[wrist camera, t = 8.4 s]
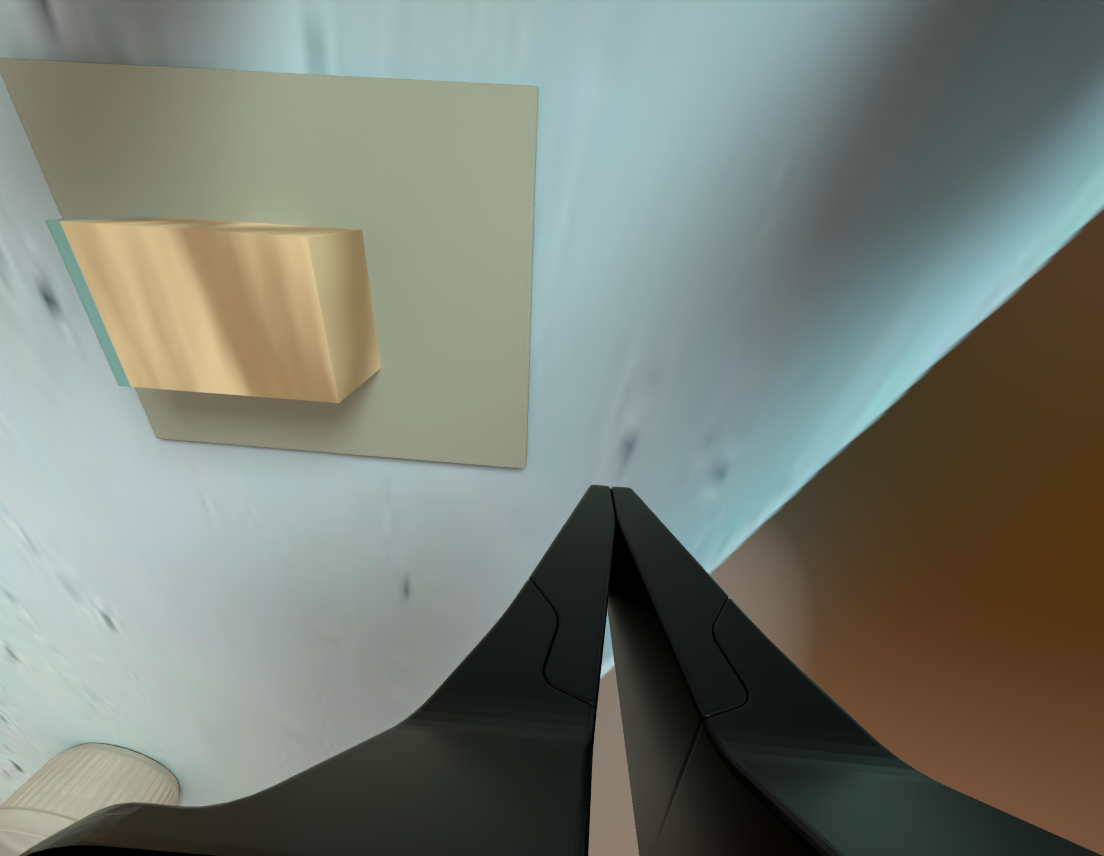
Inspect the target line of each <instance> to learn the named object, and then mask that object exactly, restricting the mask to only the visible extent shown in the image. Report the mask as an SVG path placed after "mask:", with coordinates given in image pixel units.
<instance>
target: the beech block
mask: <svg viewBox="0 0 1104 856" xmlns="http://www.w3.org/2000/svg"><path fill="white" fill-rule="evenodd" d="M45 221H46V223H47V225H48V227H49V230H50V232H51V234H52V236H53V239H54V241H55V243H56V245H57V248H58V250H59V252H60V254H61V257H62V259H63V261H64V263H65V266H66V268H67V270H68V272H69V275H70V277H71V279H72V281H73V284H74V286H75V288H76V290H77V293H78V295H79V297H80V299H81V302H82V304H83V306H84V308H85V311H86V313H87V315H88V317H89V320H90V322H91V324H92V326H93V329H94V331H95V333H96V335H97V338H98V340H99V342H100V344H101V347H102V349H103V351H104V353H105V356H106V358H107V360H108V362H109V365H110V367H111V369H112V371H113V374H114V376H115V378H116V380H117V383H118V385H119V386H128V387H141V388H153V389H166V390H179V391H191V392H204V393H217V394H229V395H242V396H255V397H268V398H280V399H293V400H306V401H318V402H331V403H340V402H341V401H342V400H343V399H345V398H346V397H347V396H348V395H349V394H351V393H352V392H353V391H354V390H355V389H357V388H358V387H359V386H360V385H361V384H363V383H364V382H365V381H366V380H367V379H369V378H370V377H371V376H372V375H373V374H375V373H376V372H377V371H378V370H379V369H381V364H380V357H379V350H378V342H377V335H376V328H375V321H374V313H373V306H372V299H371V292H370V284H369V277H368V270H367V262H366V255H365V248H364V241H363V233H362V230H360V229H344V228H329V227H313V226H298V225H282V224H267V223H251V222H236V221H220V220H205V219H189V218H174V217H158V216H138V217H113V218H88V219H64V220H45Z"/></svg>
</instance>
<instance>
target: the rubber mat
mask: <svg viewBox="0 0 1104 856" xmlns="http://www.w3.org/2000/svg"><path fill="white" fill-rule="evenodd" d="M0 73H1V75H2V78H3V80H4V82H5V85H6V87H7V89H8V92H9V94H10V97H11V99H12V101H13V104H14V106H15V108H16V111H17V113H18V115H19V118H20V120H21V122H22V125H23V127H24V129H25V132H26V134H27V136H28V139H29V141H30V143H31V146H32V148H33V150H34V153H35V155H36V157H37V160H38V162H39V164H40V167H41V169H42V171H43V174H44V176H45V179H46V181H47V183H48V186H49V188H50V190H51V193H52V195H53V197H54V200H55V202H56V204H57V207H58V209H59V211H60V214H61V216H62V218H63V220H64V219H88V218H113V217H138V216H158V217H174V218H189V219H205V220H220V221H236V222H251V223H267V224H282V225H298V226H313V227H329V228H344V229H360V230H362V233H363V241H364V248H365V255H366V262H367V270H368V277H369V284H370V292H371V299H372V306H373V313H374V321H375V328H376V335H377V342H378V350H379V357H380V364H381V369H379V370H378V371H377V372H376V373H375V374H373V375H372V376H371V377H370V378H369V379H367V380H366V381H365V382H364V383H363V384H361V385H360V386H359V387H358V388H357V389H355V390H354V391H353V392H352V393H351V394H349V395H348V396H347V397H346V398H345V399H343V400H342V401H341V402H340V403H331V402H318V401H306V400H293V399H280V398H268V397H255V396H242V395H229V394H217V393H204V392H191V391H179V390H166V389H153V388H141V387H135V389H136V392H137V394H138V396H139V399H140V401H141V403H142V406H143V408H144V410H145V413H146V415H147V418H148V420H149V422H150V425H151V427H152V429H153V432H154V434H155V436H156V438H161V439H173V440H185V441H198V442H210V443H222V444H234V445H246V446H258V447H270V448H282V449H294V450H306V451H318V452H330V453H342V454H354V455H366V456H378V457H390V458H403V459H415V460H427V461H439V462H451V463H463V464H475V465H487V466H499V467H511V468H523V469H526V463H527V431H528V399H529V367H530V334H531V302H532V270H533V238H534V206H535V173H536V141H537V109H538V87H537V86H526V85H507V84H488V83H468V82H449V81H430V80H411V79H391V78H372V77H353V76H334V75H315V74H295V73H276V72H257V71H238V70H218V69H199V68H180V67H161V66H141V65H122V64H103V63H84V62H64V61H45V60H26V59H7V58H0Z"/></svg>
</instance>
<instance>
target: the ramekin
mask: <svg viewBox="0 0 1104 856" xmlns="http://www.w3.org/2000/svg"><path fill="white" fill-rule="evenodd" d="M178 797H179V783H178V781H177V779H176V777H175V776H174V775H173V774H172V773H171V772H170V771H169V770H168V769H167V768H165V767H164V766H162V765H161V764H159V763H158V762H156V761H154V760H152V759H150V758H148V757H146V756H144V755H142V754H140V753H137V752H134V751H131V750H129V749H125V748H121V747H117V746H113V745H108V744H100V743H86V744H81V745H78V746H75V747H73V748H71V749H68V750H66V751H63V752H62V753H60V754H59V755H57V756H55V757H54V758H53V759H51V760H50V761H49V762H48V763H47V764H45V765H44V766H43V767H42V768H41V769H40V770H39V771H38V772H37V773H36V774H34V775H33V776H32V777H31V778H30V779H29V780H28V781H27V782H26V783H25V784H23V785H22V786H21V787H20V788H19V789H18V790H17V791H16V792H15V793H14V794H13V795H12V796H11V797H10V798H8V799H7V800H6V801H5V802H4V803H3V804H2V805H1V806H0V856H19V855H21V854H22V853H24V852H25V851H27V850H28V849H30V848H31V847H33V846H34V845H36V844H37V843H39V842H41V841H43V840H44V839H46V838H48V837H50V836H51V835H53V834H55V833H57V832H58V831H60V830H62V829H64V828H66V827H68V826H69V825H71V824H73V823H75V822H77V821H79V820H81V819H82V818H84V817H86V816H88V815H90V814H92V813H93V812H95V811H97V810H100V809H102V808H105V807H108V806H111V805H114V804H120V803H129V802H140V803H155V804H164V805H173V806H176V803H177V801H178Z"/></svg>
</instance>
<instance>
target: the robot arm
mask: <svg viewBox="0 0 1104 856" xmlns="http://www.w3.org/2000/svg"><path fill="white" fill-rule="evenodd" d="M607 608H608V616H609V624H610V632H611V639H612V647H613V655H614V663H615V669H616V678H617V685H618V693H619V701H620V708H621V717H622V724H623V732H624V740H625V748H626V755H627V763H628V771H629V778H630V787H631V794H632V802H633V810H634V818H635V825H636V833H637V840H638V849H639V856H1102V855H1100V854H1098V853H1096V852H1093V851H1091V850H1089V849H1087V848H1084V847H1082V846H1080V845H1078V844H1075V843H1073V842H1071V841H1069V840H1066V839H1064V838H1062V837H1060V836H1057V835H1055V834H1053V833H1051V832H1048V831H1046V830H1044V829H1042V828H1039V827H1037V826H1035V825H1033V824H1030V823H1028V822H1026V821H1024V820H1021V819H1019V818H1017V817H1015V816H1012V815H1010V814H1008V813H1006V812H1003V811H1001V810H999V809H997V808H994V807H992V806H990V805H988V804H985V803H983V802H981V801H979V800H977V799H974V798H972V797H970V796H967V795H965V794H963V793H961V792H958V791H956V790H954V789H952V788H950V787H947V786H945V785H943V784H941V783H939V782H937V781H935V780H933V779H931V778H929V777H927V776H925V775H924V774H922V773H920V772H918V771H917V770H915V769H914V768H912V767H911V766H909V765H908V764H906V763H905V762H903V761H902V760H900V759H899V758H898V757H896V756H895V755H894V754H892V753H891V752H890V751H889V750H887V749H886V748H885V747H884V746H883V745H881V744H880V743H879V742H878V741H877V740H876V739H875V738H873V737H872V736H871V735H870V734H869V733H868V732H867V731H866V730H865V729H864V728H862V726H860V725H859V724H858V723H857V722H856V721H855V720H854V719H853V718H852V717H851V716H850V715H849V714H847V713H846V712H845V711H844V710H843V709H842V708H841V707H840V706H839V705H838V704H837V703H836V702H835V701H833V699H831V698H830V697H829V696H828V695H827V694H826V693H825V692H824V691H823V690H822V689H821V688H820V687H819V686H817V685H816V684H815V683H814V682H813V681H812V680H811V679H810V678H809V677H808V676H807V675H806V674H805V673H803V672H802V671H801V670H800V669H799V668H798V667H797V666H796V665H795V664H794V663H793V662H792V661H791V660H790V659H789V658H788V657H787V656H786V655H785V654H784V653H782V652H781V651H780V650H779V649H778V648H777V647H776V646H775V645H774V644H773V643H772V642H771V641H770V640H769V639H768V638H767V637H766V636H765V635H764V634H763V633H762V632H761V631H760V629H759V628H758V627H757V626H756V625H755V624H754V623H753V622H752V621H751V620H750V619H749V618H748V617H747V616H746V615H745V614H744V613H743V611H742V610H741V609H740V608H739V607H738V606H737V605H736V604H735V603H734V601H733V600H732V599H728V595H727V594H726V593H725V592H724V591H723V590H722V588H721V587H720V586H719V585H718V584H717V583H716V582H715V581H714V580H713V578H712V577H711V576H710V575H709V574H708V573H707V572H706V571H705V570H704V568H703V567H702V566H701V565H700V564H699V563H698V562H697V561H696V560H695V558H694V557H693V556H692V555H691V554H690V553H689V552H688V551H687V550H686V549H685V547H684V546H683V545H682V544H681V543H680V542H679V541H678V540H677V539H676V537H675V536H674V535H673V534H672V533H671V532H670V531H669V530H668V529H667V527H666V526H665V525H664V524H663V523H662V522H661V521H660V520H659V519H658V517H657V516H656V515H655V514H654V513H653V512H652V511H651V510H650V509H649V508H648V506H647V505H646V504H645V503H644V502H643V501H642V500H641V499H640V498H639V496H638V495H637V494H636V493H635V492H634V491H633V490H632V489H631V488H626V487H612V488H611V489H610V487H609V486H602V485H591V486H590V487H589V488H588V490H587V491H586V493H585V494H584V496H583V497H582V499H581V500H580V502H579V503H578V505H577V506H576V508H575V509H574V511H573V512H572V514H571V515H570V517H569V518H568V520H567V521H566V523H565V524H564V526H563V527H562V529H561V530H560V532H559V533H558V535H557V536H556V538H555V540H554V541H553V543H552V544H551V546H550V547H549V549H548V550H547V552H546V553H545V555H544V556H543V558H542V559H541V561H540V562H539V564H538V565H537V567H536V568H535V570H534V571H533V573H532V574H531V576H530V577H529V580H528V581H526V583H525V584H524V586H523V587H522V589H521V590H520V592H519V593H518V595H517V596H516V598H515V599H514V600H513V602H512V603H511V605H510V606H509V607H508V609H507V610H506V611H505V613H504V614H503V615H502V617H501V618H500V619H499V620H498V621H497V623H496V624H495V625H494V626H493V627H492V628H491V630H490V631H489V632H488V633H487V634H486V636H485V637H484V638H483V639H482V640H481V641H480V642H479V643H478V645H477V646H476V647H475V648H474V649H473V650H472V651H471V652H470V654H469V655H468V656H467V657H466V658H465V659H464V660H463V661H462V662H461V664H460V665H459V666H458V667H457V668H456V669H455V670H454V671H453V672H452V674H451V675H450V676H449V677H448V678H447V679H446V680H445V681H444V682H443V684H442V685H441V686H440V687H439V688H438V689H437V690H436V691H435V692H434V694H433V695H432V696H431V697H430V698H429V699H428V700H427V701H426V702H425V703H424V704H423V705H422V706H421V707H420V708H419V709H418V710H416V711H415V712H414V713H413V714H411V715H410V716H409V717H408V718H406V719H405V720H404V721H402V722H401V723H399V724H398V725H396V726H394V727H392V728H391V729H389V730H387V731H385V732H382V733H380V734H378V735H376V736H374V737H372V738H370V739H368V740H366V741H364V742H362V743H360V744H358V745H356V746H354V747H352V748H350V749H348V750H346V751H344V752H342V753H340V754H338V755H336V756H334V757H332V758H330V759H328V760H326V761H324V762H321V763H319V764H317V765H315V766H313V767H311V768H309V769H307V770H305V771H303V772H301V773H299V774H297V775H295V776H293V777H291V778H289V779H287V780H285V781H283V782H281V783H279V784H277V785H275V786H273V787H270V788H268V789H265V790H263V791H261V792H258V793H256V794H253V795H251V796H248V797H244V798H241V799H238V800H234V801H231V802H227V803H221V804H215V805H209V806H203V807H182V806H173V805H164V804H155V803H140V802H129V803H120V804H114V805H111V806H108V807H105V808H102V809H100V810H97V811H95V812H93V813H92V814H90V815H88V816H86V817H84V818H82V819H81V820H79V821H77V822H75V823H73V824H71V825H69V826H68V827H66V828H64V829H62V830H60V831H58V832H57V833H55V834H53V835H51V836H50V837H48V838H46V839H44V840H43V841H41V842H39V843H37V844H36V845H34V846H33V847H31V848H30V849H28V850H27V851H25V852H24V853H22V854H21V855H19V856H588V847H589V824H590V801H591V778H592V758H593V744H594V732H595V721H596V711H597V702H598V693H599V683H600V674H601V664H602V655H603V645H604V635H605V626H606V616H607Z"/></svg>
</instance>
